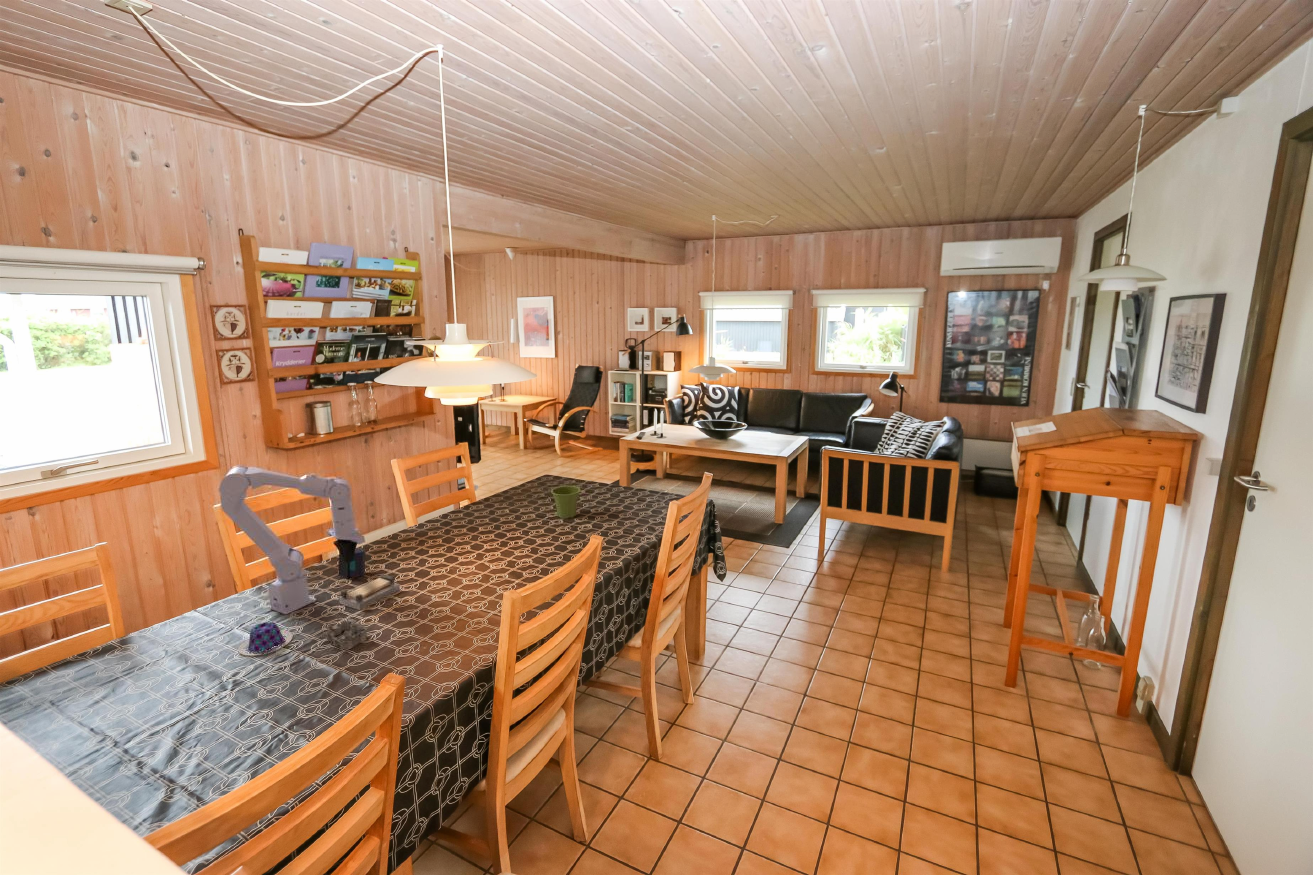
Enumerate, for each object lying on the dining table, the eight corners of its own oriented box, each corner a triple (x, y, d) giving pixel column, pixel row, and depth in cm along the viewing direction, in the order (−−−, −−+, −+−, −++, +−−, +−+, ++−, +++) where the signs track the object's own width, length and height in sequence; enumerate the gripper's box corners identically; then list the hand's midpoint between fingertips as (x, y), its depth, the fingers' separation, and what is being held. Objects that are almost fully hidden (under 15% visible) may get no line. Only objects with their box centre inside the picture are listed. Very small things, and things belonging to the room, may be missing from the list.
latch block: (360, 610, 176) (358, 597, 175) (339, 603, 180) (338, 591, 179) (399, 590, 188) (398, 578, 187) (379, 584, 192) (378, 572, 191)
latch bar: (357, 600, 177) (357, 598, 177) (346, 596, 179) (346, 594, 179) (390, 583, 187) (390, 581, 186) (379, 580, 189) (379, 577, 189)
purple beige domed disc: (252, 634, 163) (249, 617, 162) (300, 630, 165) (297, 613, 164) (229, 660, 152) (226, 641, 151) (281, 655, 154) (278, 637, 153)
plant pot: (553, 511, 257) (552, 486, 255) (581, 510, 258) (580, 485, 256) (551, 521, 246) (550, 495, 243) (580, 520, 247) (580, 494, 244)
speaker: (340, 581, 193) (340, 549, 192) (338, 575, 198) (338, 544, 196) (366, 577, 197) (366, 546, 196) (363, 571, 202) (363, 541, 201)
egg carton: (323, 639, 161) (321, 625, 160) (351, 627, 167) (349, 614, 166) (342, 653, 155) (340, 638, 154) (371, 640, 160) (369, 626, 160)
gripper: (371, 518, 181) (376, 560, 184) (339, 511, 187) (345, 552, 190) (350, 526, 175) (356, 570, 178) (318, 518, 181) (324, 560, 184)
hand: (349, 561), depth 184 cm, fingers closed
